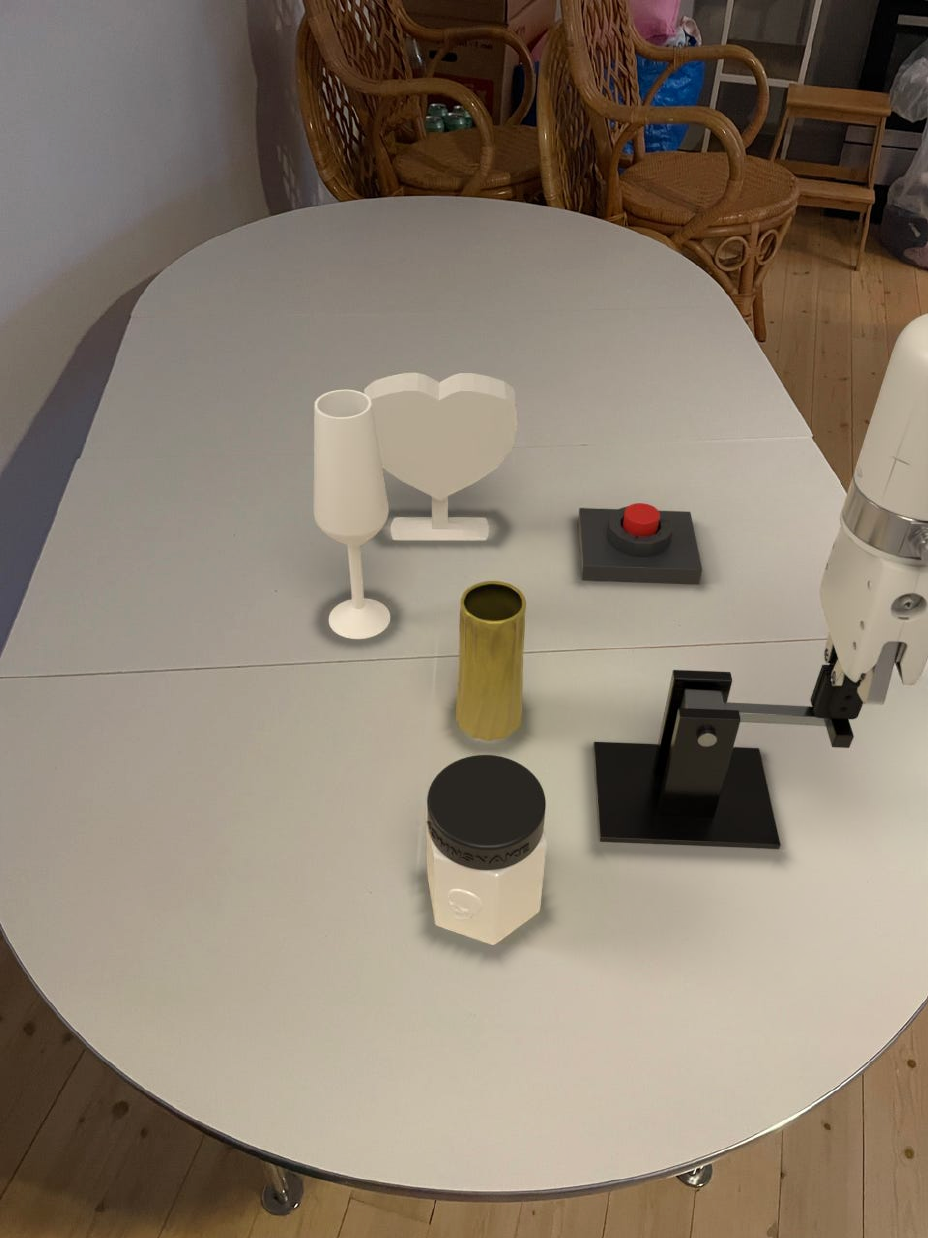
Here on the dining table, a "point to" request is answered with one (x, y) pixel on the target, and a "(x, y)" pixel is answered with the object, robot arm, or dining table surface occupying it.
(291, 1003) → the dining table surface
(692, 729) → the bracket
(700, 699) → the lever
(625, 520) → the button
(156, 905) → the dining table surface
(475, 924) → the jar
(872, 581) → the robot arm
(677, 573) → the switch block
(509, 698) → the vase
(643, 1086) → the dining table surface
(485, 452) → the heart sculpture
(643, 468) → the dining table surface
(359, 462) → the champagne flute
